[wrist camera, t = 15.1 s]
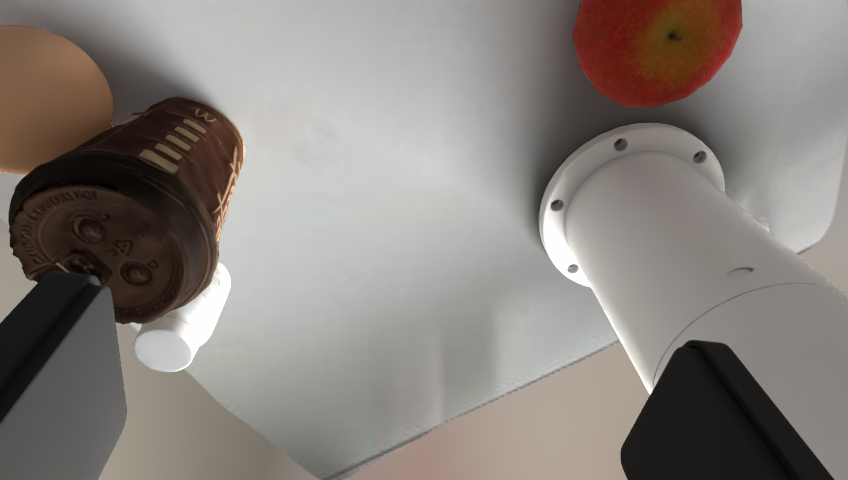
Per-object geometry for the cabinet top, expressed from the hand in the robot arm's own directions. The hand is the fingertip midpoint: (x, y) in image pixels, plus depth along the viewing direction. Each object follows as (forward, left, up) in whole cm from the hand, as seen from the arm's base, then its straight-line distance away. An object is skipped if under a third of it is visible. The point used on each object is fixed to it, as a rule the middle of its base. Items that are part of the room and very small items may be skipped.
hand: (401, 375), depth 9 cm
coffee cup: (+11, +8, -26) cm, 30 cm away
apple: (-13, -4, -26) cm, 30 cm away
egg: (+18, +5, -26) cm, 32 cm away
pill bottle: (+11, +18, -26) cm, 34 cm away
